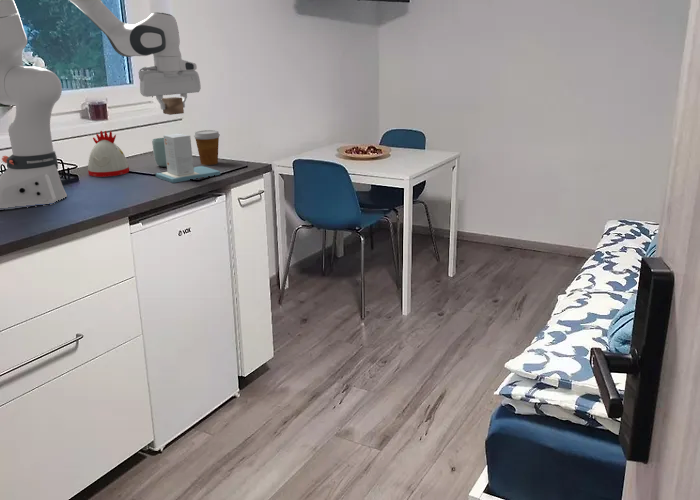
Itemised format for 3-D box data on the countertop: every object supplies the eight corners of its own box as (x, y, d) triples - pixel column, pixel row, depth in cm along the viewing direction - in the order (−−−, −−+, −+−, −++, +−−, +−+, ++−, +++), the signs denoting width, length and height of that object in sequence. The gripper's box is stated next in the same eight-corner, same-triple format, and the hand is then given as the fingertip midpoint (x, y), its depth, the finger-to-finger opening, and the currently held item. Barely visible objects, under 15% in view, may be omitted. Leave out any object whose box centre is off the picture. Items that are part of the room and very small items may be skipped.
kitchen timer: (121, 176, 223) (115, 133, 218) (82, 177, 223) (75, 134, 218) (134, 168, 236) (129, 127, 231) (97, 168, 236) (91, 128, 231)
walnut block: (170, 114, 210) (168, 99, 208) (163, 113, 213) (161, 98, 212) (183, 113, 213) (182, 98, 211) (177, 112, 216) (175, 97, 215)
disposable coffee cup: (195, 166, 237) (192, 134, 233) (197, 161, 246) (194, 130, 242) (221, 165, 238) (218, 133, 234) (222, 160, 247) (219, 129, 243)
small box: (194, 173, 219) (190, 135, 215) (177, 176, 215) (173, 137, 211) (183, 169, 225) (179, 132, 221) (167, 172, 221) (162, 135, 217)
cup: (157, 164, 242) (153, 138, 239) (177, 163, 243) (175, 137, 240) (153, 168, 235) (150, 141, 232) (174, 167, 236) (171, 140, 233)
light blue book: (172, 182, 212) (172, 178, 211) (156, 176, 221) (155, 172, 221) (220, 174, 223) (220, 170, 222) (202, 169, 232) (202, 165, 232)
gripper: (142, 67, 199) (147, 112, 204) (200, 64, 212) (204, 106, 216) (133, 66, 204) (139, 110, 208) (191, 63, 216) (195, 104, 221)
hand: (173, 108), depth 212 cm, fingers closed on walnut block, 5 cm apart
